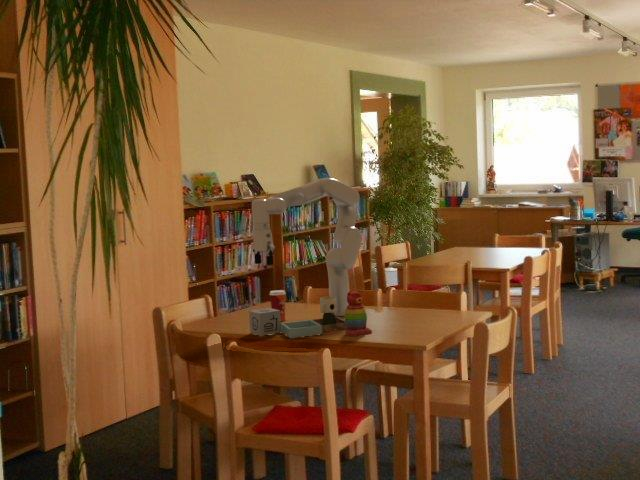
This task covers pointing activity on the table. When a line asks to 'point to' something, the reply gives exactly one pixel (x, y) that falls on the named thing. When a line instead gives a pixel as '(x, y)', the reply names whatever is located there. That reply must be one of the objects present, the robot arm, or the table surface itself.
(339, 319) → the walnut corral
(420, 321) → the table surface
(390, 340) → the table surface
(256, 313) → the icon cube
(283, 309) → the paper cup
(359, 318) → the stacking bear
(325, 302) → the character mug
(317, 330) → the bin
